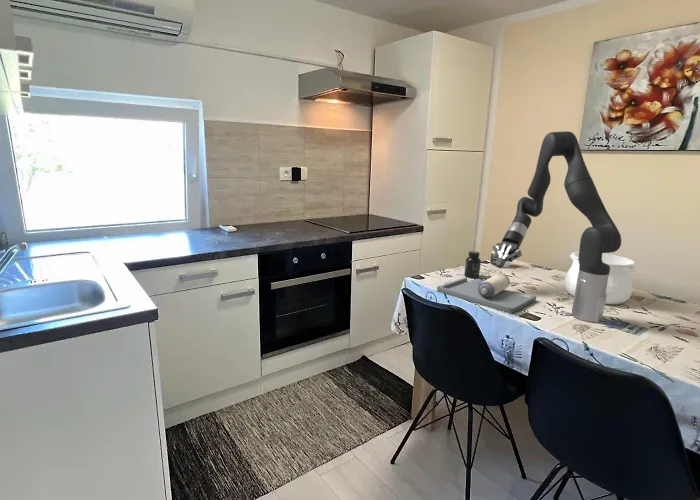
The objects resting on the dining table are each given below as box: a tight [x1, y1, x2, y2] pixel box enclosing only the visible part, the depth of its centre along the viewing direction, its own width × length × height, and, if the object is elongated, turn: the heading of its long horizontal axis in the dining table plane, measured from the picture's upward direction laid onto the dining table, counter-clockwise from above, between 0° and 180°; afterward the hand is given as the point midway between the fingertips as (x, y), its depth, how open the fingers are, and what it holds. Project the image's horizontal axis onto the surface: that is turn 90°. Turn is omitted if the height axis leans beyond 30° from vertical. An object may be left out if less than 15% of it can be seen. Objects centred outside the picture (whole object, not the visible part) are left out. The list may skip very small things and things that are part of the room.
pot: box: [563, 251, 637, 305], centre depth 168 cm, size 26×24×17 cm
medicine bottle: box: [489, 242, 511, 269], centre depth 212 cm, size 7×7×12 cm
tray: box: [436, 276, 537, 315], centre depth 164 cm, size 32×22×2 cm
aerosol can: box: [478, 273, 511, 298], centre depth 164 cm, size 7×7×20 cm
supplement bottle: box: [464, 250, 482, 279], centre depth 190 cm, size 7×7×12 cm
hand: (498, 266), depth 168 cm, fingers closed
